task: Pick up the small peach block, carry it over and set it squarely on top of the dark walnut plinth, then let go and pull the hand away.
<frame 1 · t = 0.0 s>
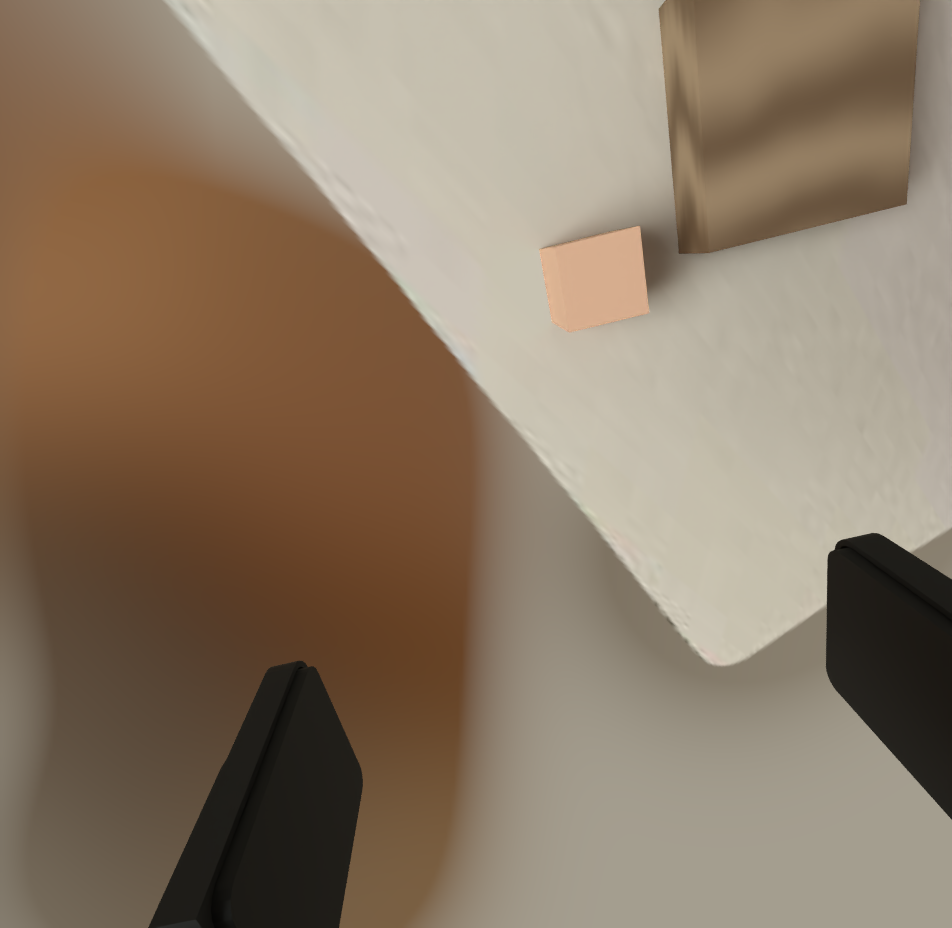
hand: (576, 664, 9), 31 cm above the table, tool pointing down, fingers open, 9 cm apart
walnut plinth: (758, 118, 34), on the table
peach block: (580, 277, 37), on the table
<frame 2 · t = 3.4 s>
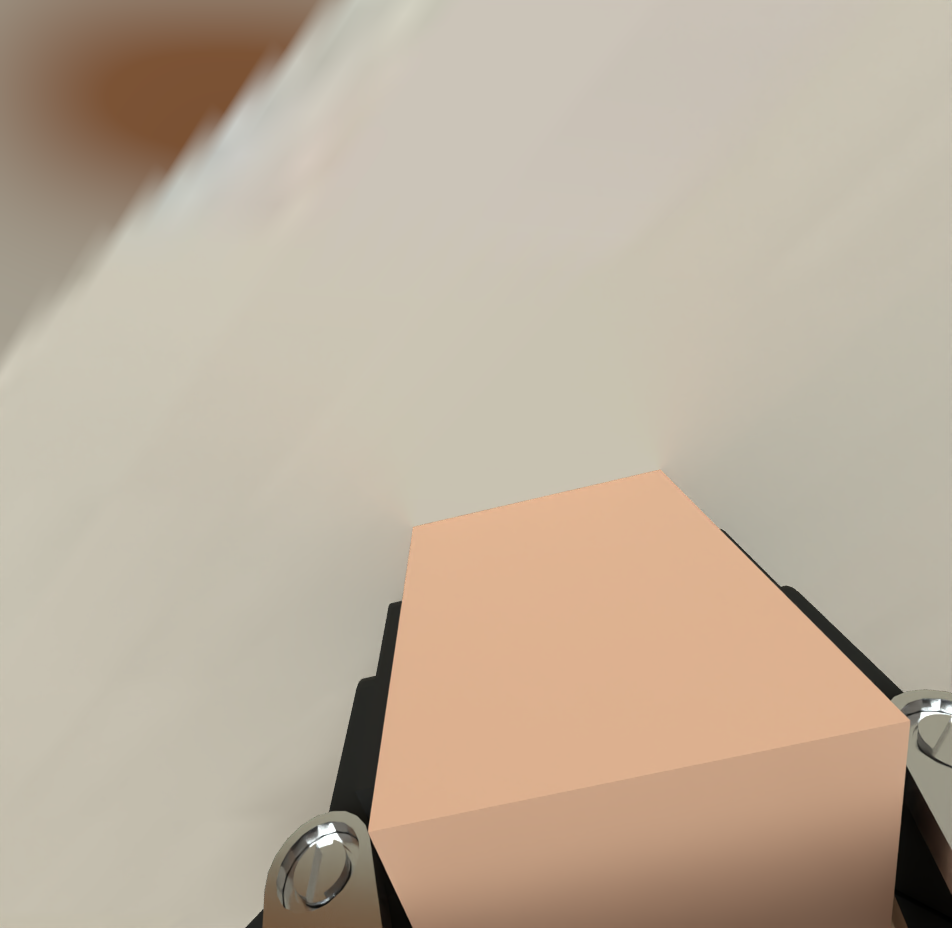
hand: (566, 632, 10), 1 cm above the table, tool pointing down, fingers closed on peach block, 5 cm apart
peach block: (557, 600, 11), on the table, touching gripper
when the fingers open (7 cm above the table, at t = 9.4 s): peach block drops 2 cm, point 5 cm above the table.
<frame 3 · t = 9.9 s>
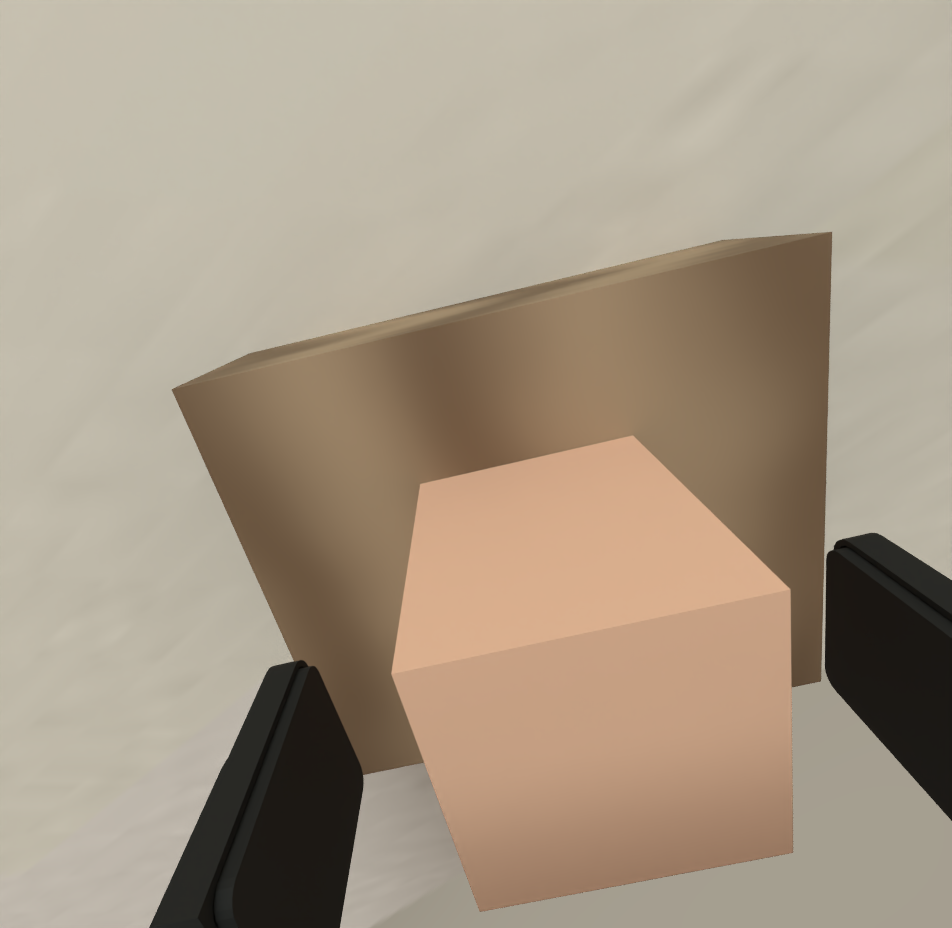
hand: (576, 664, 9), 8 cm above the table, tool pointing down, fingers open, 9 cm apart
walnut plinth: (519, 478, 18), on the table
peach block: (544, 551, 13), point 5 cm above the table
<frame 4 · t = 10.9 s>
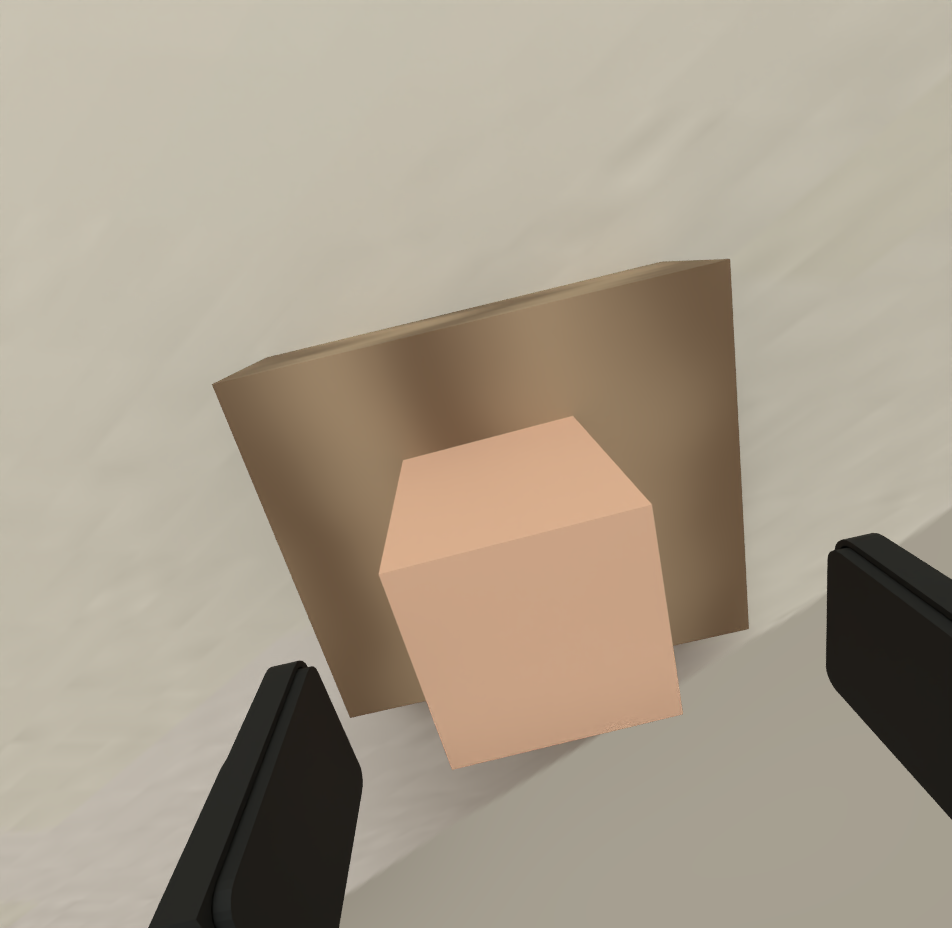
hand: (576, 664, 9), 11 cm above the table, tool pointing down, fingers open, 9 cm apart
walnut plinth: (497, 464, 21), on the table, touching peach block
peach block: (507, 514, 16), point 5 cm above the table, touching walnut plinth
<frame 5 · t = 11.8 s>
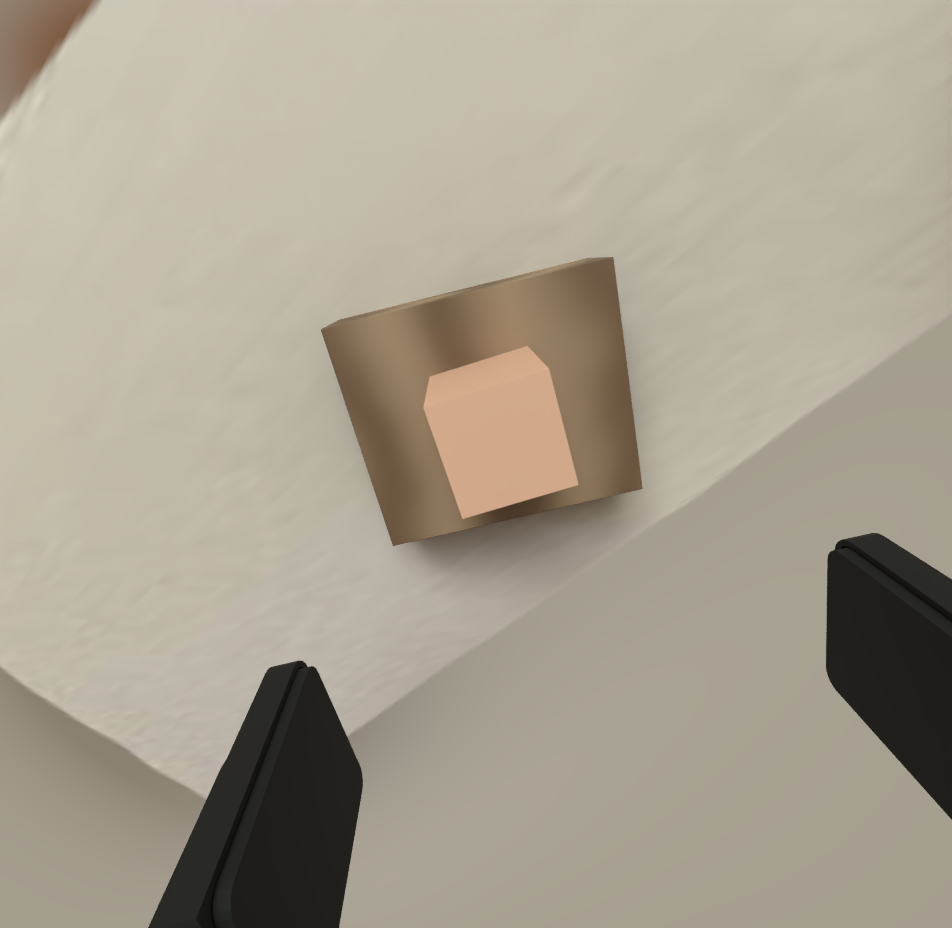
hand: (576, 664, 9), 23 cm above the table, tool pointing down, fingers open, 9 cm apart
walnut plinth: (486, 392, 31), on the table
peach block: (492, 408, 26), point 5 cm above the table
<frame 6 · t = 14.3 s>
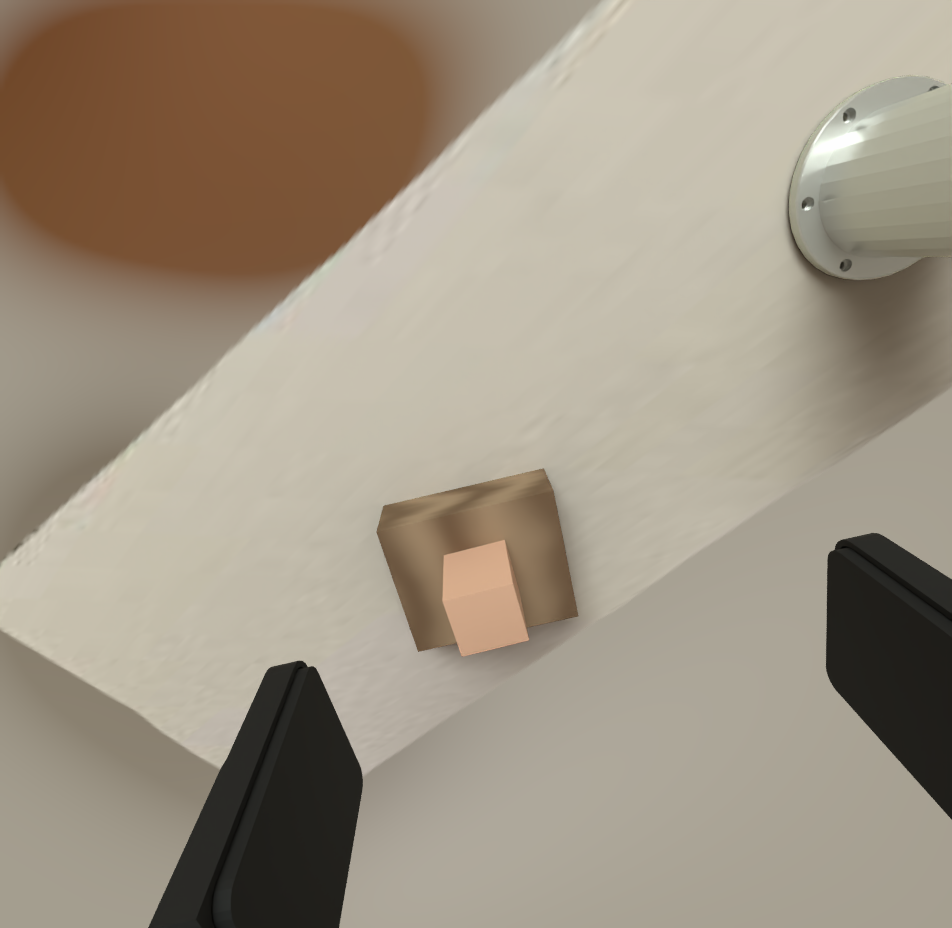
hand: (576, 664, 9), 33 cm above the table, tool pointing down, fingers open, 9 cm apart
walnut plinth: (478, 544, 47), on the table, touching peach block
peach block: (482, 573, 42), point 5 cm above the table, touching walnut plinth
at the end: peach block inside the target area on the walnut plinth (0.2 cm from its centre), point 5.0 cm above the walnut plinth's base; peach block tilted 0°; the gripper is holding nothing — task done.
